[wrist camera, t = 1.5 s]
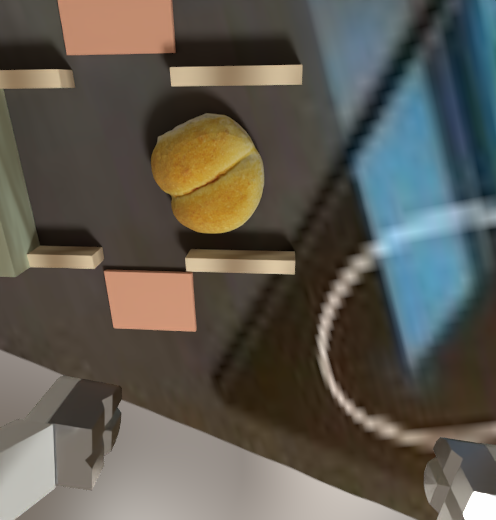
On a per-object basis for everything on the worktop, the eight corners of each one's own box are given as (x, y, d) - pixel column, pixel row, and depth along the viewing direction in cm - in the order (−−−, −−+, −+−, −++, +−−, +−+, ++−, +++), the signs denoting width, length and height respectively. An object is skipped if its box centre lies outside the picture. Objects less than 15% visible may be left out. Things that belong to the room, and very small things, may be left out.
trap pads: (168, -49, 26) (166, -52, 26) (196, 329, 38) (195, 331, 38) (52, -44, 27) (49, -46, 27) (115, 325, 39) (113, 328, 38)
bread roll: (195, 240, 35) (184, 258, 31) (143, 143, 32) (124, 150, 28) (283, 204, 33) (282, 219, 29) (236, 96, 30) (229, 98, 26)
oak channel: (301, 66, 28) (303, 63, 25) (294, 264, 35) (295, 285, 31) (-21, 71, 31) (-63, 70, 27) (26, 257, 37) (-3, 276, 33)
